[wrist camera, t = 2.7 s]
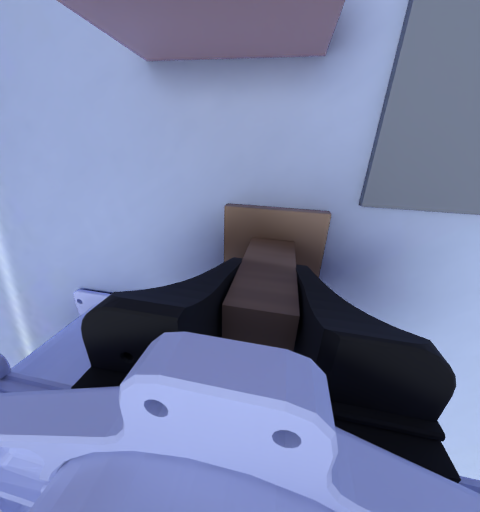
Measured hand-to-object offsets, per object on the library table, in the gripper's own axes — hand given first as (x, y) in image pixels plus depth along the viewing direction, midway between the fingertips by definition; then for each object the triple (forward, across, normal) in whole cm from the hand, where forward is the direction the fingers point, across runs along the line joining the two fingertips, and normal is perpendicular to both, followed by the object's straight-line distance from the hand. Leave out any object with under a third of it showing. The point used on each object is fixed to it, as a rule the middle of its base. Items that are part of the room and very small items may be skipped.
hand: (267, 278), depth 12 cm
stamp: (+3, 0, 0) cm, 3 cm away
